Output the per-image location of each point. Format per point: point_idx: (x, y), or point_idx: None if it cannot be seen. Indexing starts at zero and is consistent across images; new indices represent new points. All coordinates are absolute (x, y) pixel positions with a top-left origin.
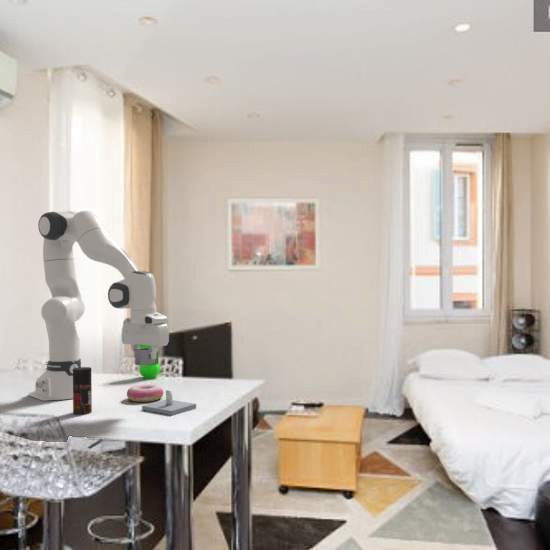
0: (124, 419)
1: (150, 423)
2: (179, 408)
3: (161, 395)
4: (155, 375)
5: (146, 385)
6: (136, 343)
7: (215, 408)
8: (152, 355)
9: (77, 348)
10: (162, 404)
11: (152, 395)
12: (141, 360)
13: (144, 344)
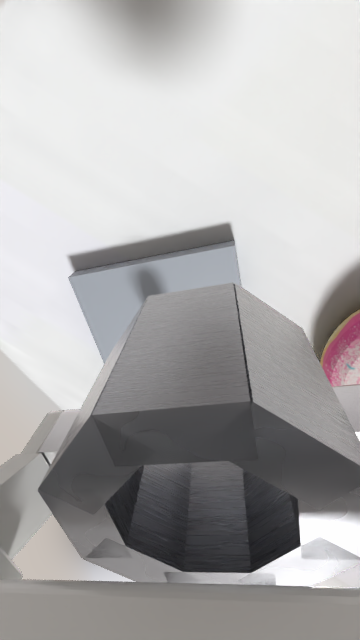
0: (140, 79)
1: (6, 139)
2: (86, 317)
3: None
4: None
5: None
6: (354, 632)
7: (78, 404)
8: (30, 439)
9: None
10: None
11: (325, 358)
12: (130, 329)
13: (34, 598)
